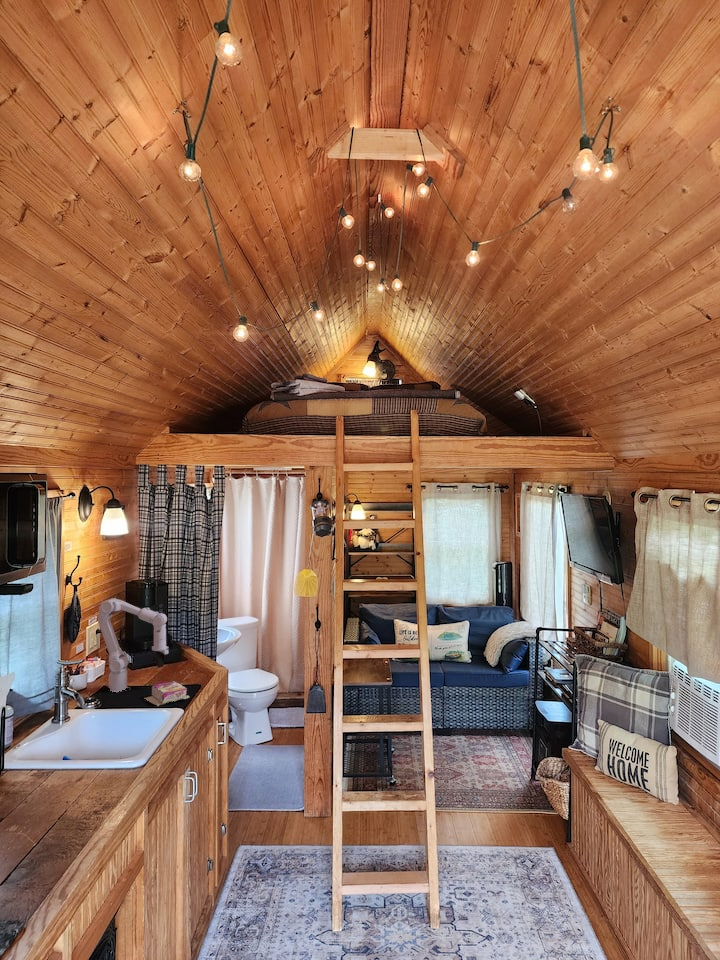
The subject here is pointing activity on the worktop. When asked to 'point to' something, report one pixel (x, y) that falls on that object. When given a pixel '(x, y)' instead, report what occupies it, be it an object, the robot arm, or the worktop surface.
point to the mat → (155, 700)
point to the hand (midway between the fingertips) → (160, 667)
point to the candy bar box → (169, 692)
